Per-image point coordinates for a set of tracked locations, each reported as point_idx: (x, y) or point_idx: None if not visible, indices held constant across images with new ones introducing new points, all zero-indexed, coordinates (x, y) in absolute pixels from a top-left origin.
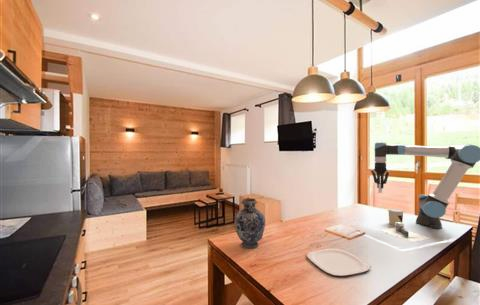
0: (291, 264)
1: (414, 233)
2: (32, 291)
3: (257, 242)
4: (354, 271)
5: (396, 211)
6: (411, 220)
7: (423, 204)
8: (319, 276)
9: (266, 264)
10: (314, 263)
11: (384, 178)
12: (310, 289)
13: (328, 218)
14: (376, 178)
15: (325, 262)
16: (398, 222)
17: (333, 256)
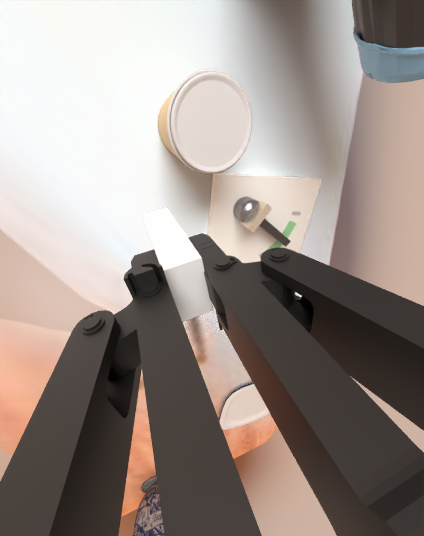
0: (228, 439)
1: (281, 183)
2: None
3: (156, 478)
4: None
5: (231, 154)
6: None
7: (410, 25)
8: (260, 420)
9: None
10: (244, 424)
11: (361, 381)
12: (269, 427)
13: None
14: (91, 430)
15: (246, 412)
16: (256, 219)
17: (241, 402)
